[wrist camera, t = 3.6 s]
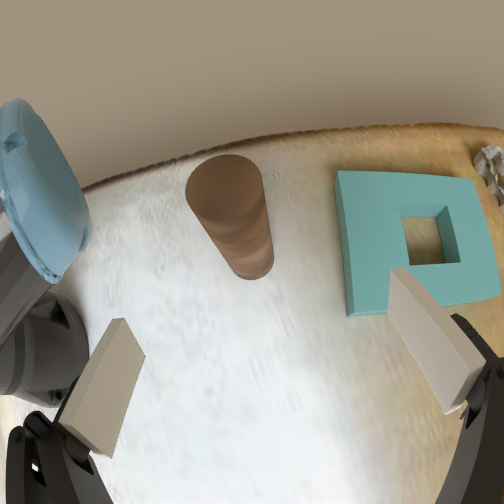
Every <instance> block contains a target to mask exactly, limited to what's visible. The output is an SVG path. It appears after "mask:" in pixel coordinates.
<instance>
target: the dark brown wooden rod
mask: <svg viewBox="0 0 504 504" xmlns="http://www.w3.org/2000/svg"><path fill="white" fill-rule="evenodd" d="M503 501H504V486H503V489H502V493H501V496H500V499H499V502H498V504H503Z"/></svg>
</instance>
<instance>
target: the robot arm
mask: <svg viewBox="0 0 504 504" xmlns="http://www.w3.org/2000/svg"><path fill="white" fill-rule="evenodd" d="M90 235H91V218H90V213H89V209H88V206H87V203H86V200H85V198H84V195H83V193H82V191H81V188H80V186H79V184H78V182H77V180H76V178H75V176H74V174H73V172H72V170H71V168H70V166H69V164H68V162H67V160H66V158H65V157H64V155H63V153H62V151H61V149H60V148H59V146H58V144H57V142H56V141H55V139H54V137H53V136H52V134H51V132H50V131H49V129H48V128H47V126H46V125H45V123H44V122H43V120H42V119H41V118H40V116H39V115H37V114H36V113H35V111H34V110H33V108H32V107H31V105H30V104H29V103H28V102H26V101H25V100H23V99H20V98H18V99H14V100H12V101H10V102H6V103H5V104H4V105H3V106H2V107H1V108H0V395H13V396H16V397H18V398H21V399H23V400H26V401H29V402H31V403H34V404H37V405H40V406H43V407H47V408H56V407H60V408H59V410H58V412H57V414H56V416H55V418H54V421H53V422H51V421H50V420H49V419H48V418H47V417H46V416H45V415H44V414H43V413H42V412H40V411H33V412H31V413H30V414H28V416H27V417H26V418H25V420H24V423H23V427H22V426H17V427H15V428H13V429H12V430H11V432H10V434H9V438H8V447H7V459H6V504H114V503H113V501H112V500H111V498H110V496H109V494H108V492H107V490H106V488H105V486H104V484H103V481H102V479H101V477H100V475H99V473H98V470H97V468H96V466H95V463H94V461H93V459H92V457H91V456H90V455H89V452H90V450H91V451H92V452H94V453H95V454H96V455H97V456H100V457H104V458H109V459H112V456H113V453H114V449H115V446H116V442H117V439H118V436H119V433H120V429H121V426H122V423H123V420H124V417H125V414H126V411H127V408H128V405H129V402H130V399H131V396H132V393H133V390H134V387H135V384H136V381H137V379H138V376H139V373H140V370H141V367H142V365H143V362H144V359H145V357H146V356H145V354H144V353H143V351H142V349H141V348H140V346H139V344H138V342H137V341H136V339H135V337H134V335H133V333H132V331H131V330H130V328H129V326H128V324H127V322H126V320H125V318H117V319H112V321H111V322H110V324H109V326H108V327H107V329H106V331H105V333H104V334H103V336H102V338H101V339H100V341H99V343H98V345H97V346H96V348H95V350H94V352H93V354H92V355H91V357H90V359H89V355H88V344H87V338H86V334H85V330H84V327H83V324H82V321H81V319H80V317H79V315H78V313H77V311H76V309H75V308H74V307H73V305H72V304H71V303H70V302H69V301H68V300H67V299H65V298H64V297H62V296H60V295H57V294H54V293H52V292H48V290H49V289H50V287H51V286H52V285H53V284H58V283H59V282H60V281H61V280H62V279H63V275H64V273H65V271H66V270H67V269H68V268H69V266H70V265H71V264H72V263H73V262H74V261H75V260H76V258H77V257H78V256H79V255H80V254H81V253H82V252H83V251H84V249H85V248H86V246H87V244H88V242H89V239H90ZM387 317H388V318H389V320H390V321H391V323H392V325H393V326H394V328H395V329H396V331H397V332H398V334H399V336H400V337H401V339H402V340H403V342H404V344H405V345H406V347H407V348H408V350H409V352H410V353H411V355H412V357H413V358H414V360H415V362H416V363H417V365H418V367H419V368H420V370H421V372H422V374H423V375H424V377H425V379H426V381H427V382H428V384H429V386H430V388H431V390H432V391H433V393H434V395H435V397H436V399H437V401H438V403H439V404H440V406H441V408H442V410H443V412H444V414H445V415H447V414H449V413H450V412H452V411H454V410H456V409H458V408H460V407H461V405H462V404H463V402H464V400H465V399H466V400H467V402H468V406H467V407H466V409H465V410H464V412H463V413H462V415H461V417H460V419H462V418H463V417H464V416H465V418H464V422H463V426H462V430H461V434H460V437H459V441H458V444H457V448H456V451H455V454H454V457H453V460H452V463H451V466H450V469H449V471H448V474H447V477H446V479H445V482H444V484H443V487H442V489H441V491H440V494H439V496H438V498H437V500H436V503H435V504H498V502H499V499H500V496H501V493H502V489H503V486H504V357H503V358H499V357H498V356H497V355H496V354H495V353H494V352H493V350H492V349H491V348H490V347H489V345H488V344H487V343H486V342H485V341H484V339H483V338H482V337H481V336H480V335H478V332H477V331H476V330H475V329H474V328H473V326H472V325H471V324H470V323H469V322H468V321H467V320H466V319H465V318H464V317H462V316H460V315H458V314H457V313H455V314H453V315H451V316H449V314H448V313H447V312H446V311H445V310H444V309H443V308H442V307H441V305H440V304H439V303H438V302H437V301H436V300H435V299H434V298H433V297H432V296H431V294H430V293H429V292H428V291H427V290H426V289H425V288H424V287H423V286H422V285H421V284H420V283H419V282H418V281H417V280H416V279H415V278H414V277H413V276H412V275H411V274H410V273H409V272H408V271H407V270H406V269H405V267H402V268H398V269H394V270H391V271H390V287H389V299H388V310H387ZM32 463H33V464H34V465H35V466H37V467H38V472H37V471H35V470H34V469H32ZM503 504H504V501H503Z"/></svg>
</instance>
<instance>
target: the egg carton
mask: <svg viewBox="0 0 504 504" xmlns="http://www.w3.org/2000/svg"><path fill="white" fill-rule="evenodd" d="M479 149H480V151H479V152H478V154H477V155H476V156H475V158H474V159H473V160H472V161H473V163H474V170H475V171H476V173H477V174H480V175H482V176H483V177H484V178H485V179H486V181H487V184H488V186H487V189H488V190H489V191H490V192H491V193H493V194H495V195H496V196H497V197H498V199H499V201H500V207H499V208H500V209H501V211H502V213H504V183H503V184H502V185H501V186H498V184H497V179H498V174H497V173H495V171H494V169H493V166H492V165H491V163H490V160H489V159H492V160H493V161H494V162H495V169H496V171H497V172H498V173H499V174H500V175H502V176H504V150H503V149H502V148H501V147H499V146H497V145H494V144H493V145H490V146H487V147H485V148H483V147H480V148H479Z"/></svg>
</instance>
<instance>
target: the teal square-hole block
mask: <svg viewBox="0 0 504 504" xmlns="http://www.w3.org/2000/svg"><path fill="white" fill-rule="evenodd" d="M334 191H335V198H336V205H337V212H338V220H339V228H340V236H341V245H342V255H343V266H344V277H345V291H346V309H347V316H362V315H374V314H386V313H387V310H388V299H389V287H390V271H391V270H394V269H398V268H402V267H405V269H406V270H407V271H408V272H409V273H410V274H411V275H412V276H413V277H414V278H415V279H416V280H417V281H418V282H419V283H420V284H421V285H422V286H423V287H424V288H425V289H426V290H427V291H428V292H429V293H430V294H431V296H432V297H433V298H434V299H435V300H436V301H437V302H438V303H439V304H440V305H441V307H446V306H453V305H459V304H466V303H472V302H478V301H483V300H488V299H490V298H493V297H496V296H498V295H501V294H502V292H501V285H500V279H499V273H498V268H497V262H496V258H495V253H494V248H493V244H492V240H491V236H490V232H489V229H488V225H487V222H486V218H485V215H484V212H483V209H482V206H481V203H480V200H479V197H478V194H477V191H476V188H475V186H474V183H473V180H472V179H465V178H457V177H448V176H437V175H426V174H413V173H397V172H376V171H337V175H336V179H335V184H334ZM401 217H436V221H437V225H438V229H439V233H440V237H441V242H442V247H443V252H444V257H445V262H446V264H429V265H411V266H410V264H409V257H408V251H407V245H406V240H405V235H404V230H403V225H402V220H401Z"/></svg>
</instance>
